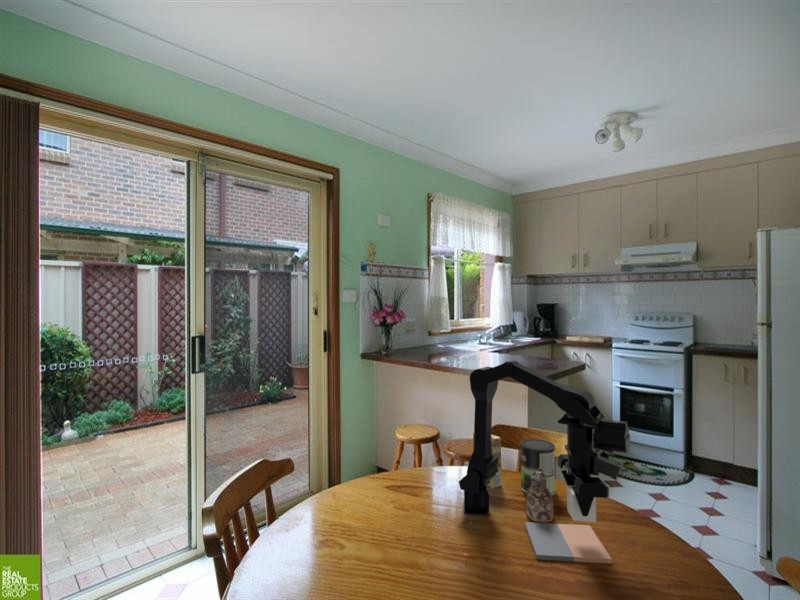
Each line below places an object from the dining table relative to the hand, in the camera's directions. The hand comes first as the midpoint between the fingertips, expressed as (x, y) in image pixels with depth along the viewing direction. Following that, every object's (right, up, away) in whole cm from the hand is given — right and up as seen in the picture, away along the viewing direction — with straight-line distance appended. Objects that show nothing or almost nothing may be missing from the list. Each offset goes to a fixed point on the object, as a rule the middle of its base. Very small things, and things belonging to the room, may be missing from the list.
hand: (581, 510), depth 97 cm
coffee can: (0, -9, +29) cm, 30 cm away
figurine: (-5, -9, +13) cm, 17 cm away
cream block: (0, -1, 0) cm, 1 cm away
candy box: (-15, -9, +35) cm, 39 cm away
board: (-4, -8, 0) cm, 9 cm away
